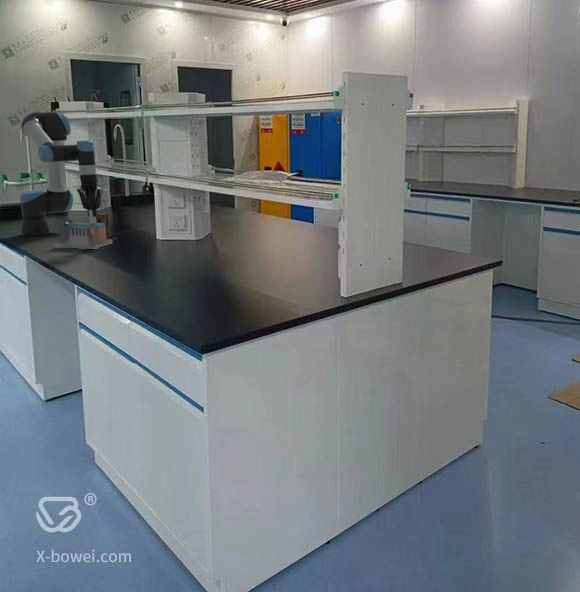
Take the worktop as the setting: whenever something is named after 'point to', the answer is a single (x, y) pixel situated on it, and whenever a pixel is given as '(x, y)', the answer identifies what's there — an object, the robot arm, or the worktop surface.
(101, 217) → the multimeter
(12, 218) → the worktop surface
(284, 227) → the worktop surface
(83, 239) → the heatsink base
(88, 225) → the lever
